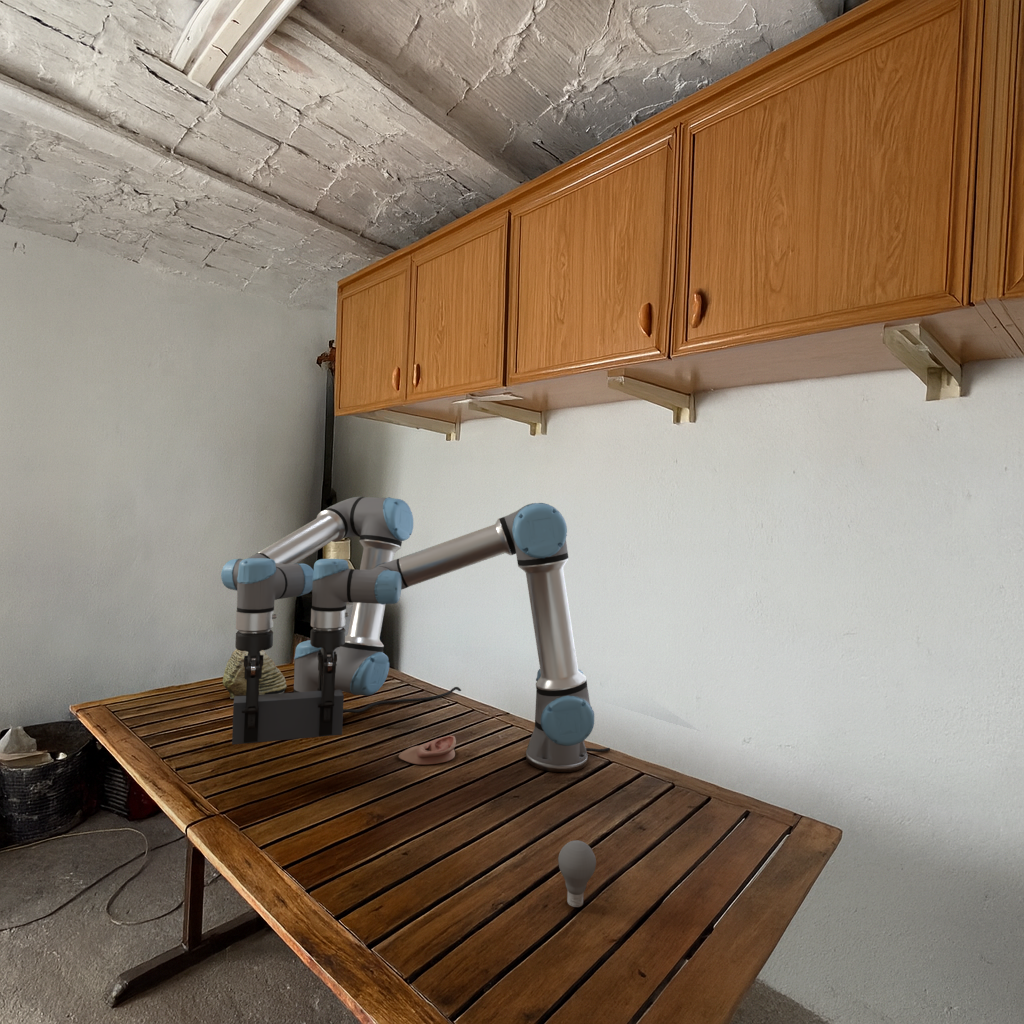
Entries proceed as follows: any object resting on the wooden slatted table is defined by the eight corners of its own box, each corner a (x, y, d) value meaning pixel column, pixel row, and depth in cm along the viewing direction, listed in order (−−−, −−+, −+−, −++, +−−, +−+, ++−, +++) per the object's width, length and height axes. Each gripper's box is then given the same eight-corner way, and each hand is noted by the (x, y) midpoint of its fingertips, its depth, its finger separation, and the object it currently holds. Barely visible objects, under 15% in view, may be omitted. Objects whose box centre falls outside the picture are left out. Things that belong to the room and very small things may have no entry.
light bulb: (553, 893, 104) (556, 833, 104) (589, 892, 104) (592, 832, 104) (559, 917, 98) (562, 853, 98) (597, 916, 99) (600, 853, 98)
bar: (231, 744, 134) (233, 703, 134) (233, 736, 138) (234, 696, 138) (342, 734, 142) (343, 695, 142) (339, 727, 147) (341, 689, 147)
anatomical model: (394, 745, 152) (411, 728, 164) (393, 761, 153) (410, 744, 164) (446, 752, 150) (460, 734, 161) (446, 768, 150) (459, 750, 161)
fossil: (218, 695, 195) (220, 647, 195) (278, 685, 208) (279, 640, 207) (228, 703, 189) (230, 653, 188) (289, 692, 201) (290, 645, 201)
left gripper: (273, 638, 130) (269, 750, 131) (272, 621, 147) (269, 721, 147) (234, 640, 127) (229, 754, 128) (237, 622, 144) (234, 724, 144)
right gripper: (350, 635, 136) (346, 743, 136) (341, 619, 152) (337, 715, 153) (313, 636, 133) (309, 746, 133) (308, 620, 150) (304, 718, 150)
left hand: (250, 736), depth 138 cm, fingers closed on bar, 5 cm apart
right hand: (324, 730), depth 143 cm, fingers closed on bar, 5 cm apart
